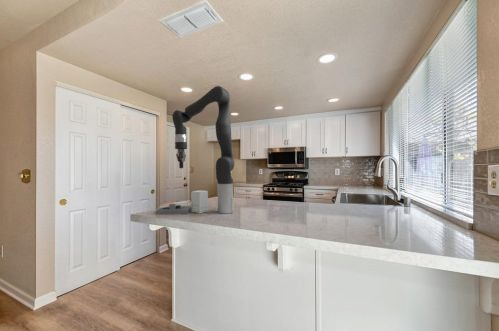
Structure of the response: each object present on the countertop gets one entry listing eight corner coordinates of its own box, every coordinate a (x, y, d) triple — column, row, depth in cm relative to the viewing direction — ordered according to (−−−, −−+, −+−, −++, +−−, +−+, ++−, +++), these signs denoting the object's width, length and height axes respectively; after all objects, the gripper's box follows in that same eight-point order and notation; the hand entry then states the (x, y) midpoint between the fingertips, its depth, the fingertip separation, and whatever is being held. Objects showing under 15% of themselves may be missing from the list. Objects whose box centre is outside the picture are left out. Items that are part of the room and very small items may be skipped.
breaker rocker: (190, 201, 137) (189, 199, 137) (186, 204, 129) (185, 201, 129) (165, 205, 137) (164, 203, 137) (159, 208, 129) (159, 205, 129)
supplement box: (208, 211, 134) (208, 190, 134) (199, 213, 127) (199, 192, 127) (199, 210, 138) (199, 190, 138) (190, 212, 131) (190, 191, 131)
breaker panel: (192, 209, 139) (192, 200, 139) (187, 213, 127) (186, 204, 127) (164, 209, 139) (164, 200, 139) (156, 214, 127) (156, 204, 127)
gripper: (183, 140, 136) (184, 168, 136) (189, 142, 149) (189, 168, 149) (171, 140, 136) (172, 168, 136) (178, 143, 149) (179, 168, 149)
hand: (181, 168), depth 142 cm, fingers closed
